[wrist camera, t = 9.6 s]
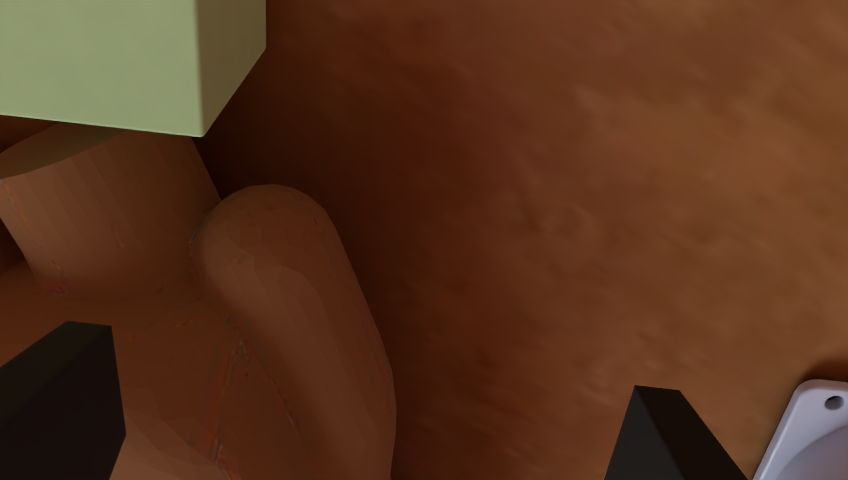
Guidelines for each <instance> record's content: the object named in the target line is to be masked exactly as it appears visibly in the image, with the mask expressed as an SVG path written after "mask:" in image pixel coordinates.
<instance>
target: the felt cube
mask: <svg viewBox="0 0 848 480" xmlns="http://www.w3.org/2000/svg"><path fill="white" fill-rule="evenodd" d="M265 49H266V0H0V115H9V116H18V117H27V118H35V119H44V120H53V121H62V122H71V123H80V124H88V125H97V126H106V127H115V128H124V129H133V130H142V131H150V132H159V133H168V134H177V135H186V136H195V137H202V136H204V135H205V134H206V132H207V131H208V129H209V128H210V127H211V125H212V124H213V122H214V121H215V120H216V118H217V117H218V115H219V114H220V112H221V111H222V110H223V108H224V107H225V105H226V104H227V103H228V101H229V100H230V98H231V97H232V96H233V94H234V93H235V91H236V90H237V89H238V87H239V86H240V84H241V83H242V82H243V80H244V79H245V77H246V76H247V74H248V73H249V72H250V70H251V69H252V67H253V66H254V65H255V63H256V62H257V60H258V59H259V58H260V56H261V55H262V53H263V52H264V51H265Z"/></svg>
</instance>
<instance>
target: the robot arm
mask: <svg viewBox="0 0 848 480" xmlns="http://www.w3.org/2000/svg"><path fill="white" fill-rule="evenodd" d="M832 396H836V397H835V398H833V399H831V400H827V399H828V398H830V397H832ZM125 436H126V427H125V419H124V412H123V405H122V398H121V391H120V383H119V376H118V369H117V362H116V355H115V347H114V340H113V333H112V326H111V325H102V324H93V323H84V322H75V321H66V322H64V323H63V324H61V325H60V326H58V327H57V328H55V329H54V330H52V331H51V332H49V333H48V334H46V335H45V336H44V337H42V338H41V339H39V340H38V341H36V342H35V343H34V344H32V345H31V346H29V347H28V348H26V349H25V350H24V351H22V352H21V353H19V354H18V355H17V356H15V357H14V358H12V359H11V360H10V361H8V362H7V363H5V364H4V365H2V366H1V367H0V480H109V479H110V476H111V474H112V471H113V469H114V466H115V463H116V461H117V458H118V455H119V453H120V450H121V447H122V444H123V442H124V439H125ZM604 480H748V479H747V478H746V477H745V475H744V474H743V473H742V472H741V470H740V469H739V468H738V466H737V465H736V464H735V462H734V461H733V460H732V459H731V457H730V456H729V455H728V453H727V452H726V451H725V450H724V448H723V447H722V446H721V444H720V443H719V442H718V440H717V439H716V438H715V436H714V435H713V434H712V433H711V431H710V430H709V429H708V427H707V426H706V425H705V423H704V422H703V421H702V419H701V418H700V417H699V415H698V414H697V413H696V411H695V410H694V409H693V408H692V406H691V405H690V404H689V402H688V401H687V400H686V398H685V397H684V396H683V395H682V393H681V392H680V391H679V390H672V389H663V388H654V387H646V386H637V385H635V387H634V390H633V393H632V396H631V399H630V402H629V405H628V408H627V411H626V414H625V417H624V420H623V423H622V427H621V430H620V433H619V436H618V439H617V442H616V445H615V448H614V451H613V454H612V457H611V460H610V463H609V466H608V470H607V473H606V476H605V479H604ZM753 480H848V382H840V381H831V380H822V379H811V380H808V381H805V382H803V383H802V384H800V385H799V386H798V387H797V388H796V390H795V391H794V393H793V396H792V398H791V400H790V402H789V404H788V406H787V408H786V410H785V412H784V414H783V417H782V419H781V421H780V423H779V425H778V427H777V429H776V431H775V433H774V436H773V438H772V440H771V442H770V444H769V446H768V448H767V450H766V452H765V455H764V457H763V459H762V461H761V463H760V465H759V467H758V469H757V471H756V474H755V476H754V478H753Z"/></svg>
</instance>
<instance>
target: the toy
mask: <svg viewBox="0 0 848 480" xmlns="http://www.w3.org/2000/svg"><path fill="white" fill-rule="evenodd" d="M66 321H75V322H84V323H93V324H102V325H111V326H112V333H113V340H114V347H115V355H116V362H117V369H118V376H119V383H120V391H121V398H122V405H123V412H124V419H125V427H126V436H125V439H124V442H123V444H122V447H121V450H120V453H119V455H118V458H117V461H116V463H115V466H114V469H113V471H112V474H111V476H110V479H109V480H392V478H391V476H390V472H391V464H392V457H393V450H394V443H395V435H396V417H397V408H396V398H395V390H394V382H393V374H392V369H391V366H390V363H389V360H388V357H387V354H386V351H385V348H384V345H383V343H382V340H381V337H380V334H379V332H378V329H377V327H376V324H375V322H374V319H373V317H372V315H371V312H370V310H369V307H368V305H367V302H366V300H365V297H364V295H363V292H362V290H361V287H360V285H359V283H358V280H357V278H356V275H355V273H354V271H353V268H352V266H351V264H350V261H349V259H348V256H347V254H346V252H345V249H344V247H343V245H342V242H341V240H340V237H339V235H338V233H337V230H336V228H335V226H334V224H333V223H332V221H331V219H330V218H329V216H328V214H327V213H326V211H325V209H323V208H322V207H321V206H320V205H319V204H317V203H316V202H315V201H314V200H313V199H312V198H310V197H309V196H308V195H306V194H304V193H302V192H300V191H299V190H297V189H295V188H292V187H287V186H282V185H277V184H266V185H255V186H249V187H246V188H244V189H241V190H239V191H237V192H234V193H232V194H230V195H229V196H228V197H226V198H225V199H224V200H221V198H220V196H219V194H218V192H217V190H216V188H215V186H214V184H213V182H212V179H211V177H210V175H209V173H208V171H207V169H206V167H205V165H204V163H203V161H202V159H201V157H200V155H199V153H198V151H197V148H196V146H195V144H194V142H193V140H192V138H191V136H186V135H177V134H168V133H159V132H150V131H142V130H133V129H124V128H115V127H106V126H97V125H88V124H80V123H71V122H60V123H57V124H55V125H53V126H51V127H49V128H47V129H45V130H43V131H41V132H39V133H36V134H34V135H32V136H30V137H28V138H26V139H24V140H22V141H20V142H18V143H17V144H15V145H13V146H11V147H9V148H8V149H6V150H4V151H3V152H1V153H0V367H1V366H2V365H4V364H5V363H7V362H8V361H10V360H11V359H12V358H14V357H15V356H17V355H18V354H19V353H21V352H22V351H24V350H25V349H26V348H28V347H29V346H31V345H32V344H34V343H35V342H36V341H38V340H39V339H41V338H42V337H44V336H45V335H46V334H48V333H49V332H51V331H52V330H54V329H55V328H57V327H58V326H60V325H61V324H63V323H64V322H66Z"/></svg>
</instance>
